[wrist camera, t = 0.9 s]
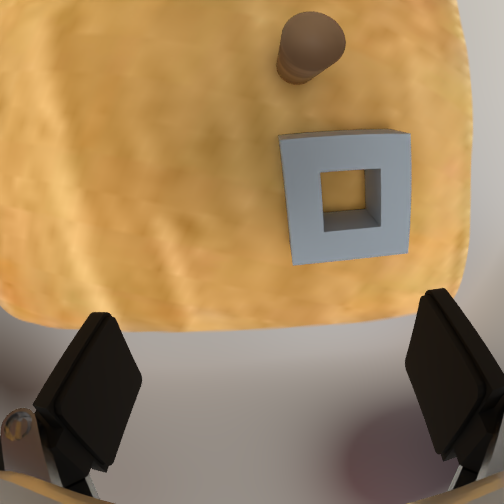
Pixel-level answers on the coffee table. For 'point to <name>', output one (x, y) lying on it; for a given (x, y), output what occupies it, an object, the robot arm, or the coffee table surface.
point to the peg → (309, 46)
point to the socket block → (352, 221)
